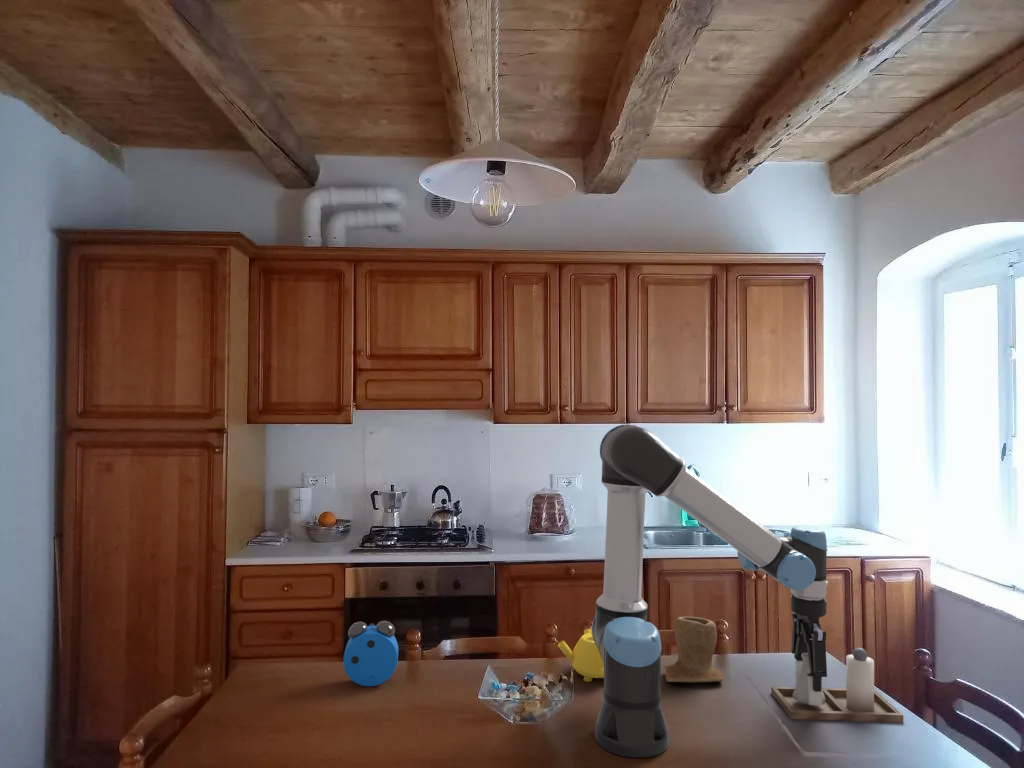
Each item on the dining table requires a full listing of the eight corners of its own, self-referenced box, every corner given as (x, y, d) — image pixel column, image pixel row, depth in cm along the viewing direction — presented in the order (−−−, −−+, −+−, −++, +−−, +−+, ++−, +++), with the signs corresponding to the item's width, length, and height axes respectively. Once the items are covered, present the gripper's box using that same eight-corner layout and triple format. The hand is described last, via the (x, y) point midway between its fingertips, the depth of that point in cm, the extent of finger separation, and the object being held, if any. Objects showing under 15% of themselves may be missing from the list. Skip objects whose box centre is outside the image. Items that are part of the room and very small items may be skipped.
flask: (821, 693, 158) (821, 650, 158) (829, 707, 151) (829, 662, 151) (788, 690, 159) (788, 648, 159) (795, 704, 152) (795, 659, 152)
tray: (791, 722, 149) (791, 712, 149) (771, 696, 162) (771, 686, 162) (903, 725, 148) (903, 715, 148) (874, 699, 161) (874, 689, 161)
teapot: (586, 659, 184) (586, 618, 184) (631, 672, 175) (631, 629, 175) (555, 676, 172) (556, 632, 173) (602, 691, 164) (602, 645, 164)
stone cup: (712, 668, 178) (712, 611, 179) (728, 687, 166) (728, 626, 167) (655, 669, 177) (655, 611, 178) (667, 688, 166) (668, 627, 166)
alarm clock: (398, 676, 172) (398, 616, 172) (397, 686, 166) (398, 624, 166) (345, 679, 170) (345, 618, 170) (342, 689, 164) (343, 627, 164)
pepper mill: (853, 713, 152) (853, 652, 152) (842, 701, 157) (842, 643, 158) (878, 713, 151) (878, 652, 152) (866, 702, 157) (866, 643, 157)
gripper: (844, 609, 145) (844, 717, 145) (808, 584, 165) (808, 678, 165) (808, 609, 146) (808, 716, 145) (776, 583, 165) (776, 678, 165)
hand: (808, 696), depth 155 cm, fingers closed on flask, 7 cm apart
